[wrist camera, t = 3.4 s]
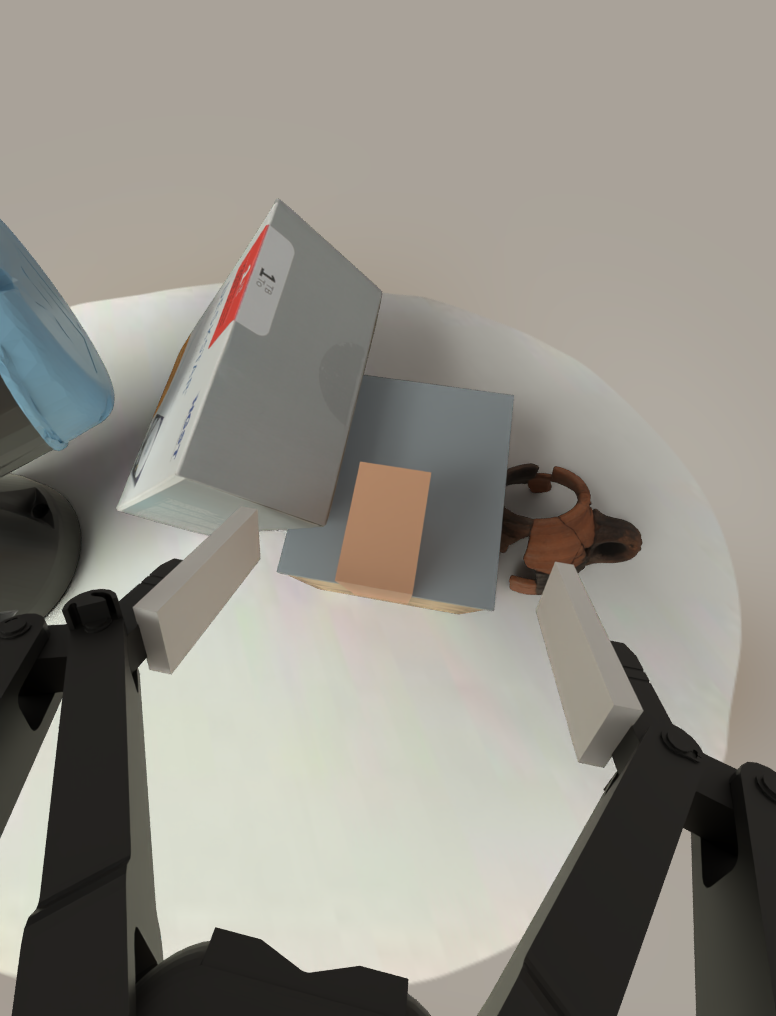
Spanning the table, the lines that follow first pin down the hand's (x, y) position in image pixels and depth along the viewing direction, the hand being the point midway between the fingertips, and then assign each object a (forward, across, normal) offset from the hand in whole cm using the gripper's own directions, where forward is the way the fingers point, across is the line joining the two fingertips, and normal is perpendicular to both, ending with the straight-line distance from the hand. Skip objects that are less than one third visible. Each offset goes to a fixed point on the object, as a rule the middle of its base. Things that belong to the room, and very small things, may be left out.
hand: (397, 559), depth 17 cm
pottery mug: (+16, +12, -7) cm, 21 cm away
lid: (+8, -1, 0) cm, 8 cm away
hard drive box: (+16, -20, -3) cm, 26 cm away
